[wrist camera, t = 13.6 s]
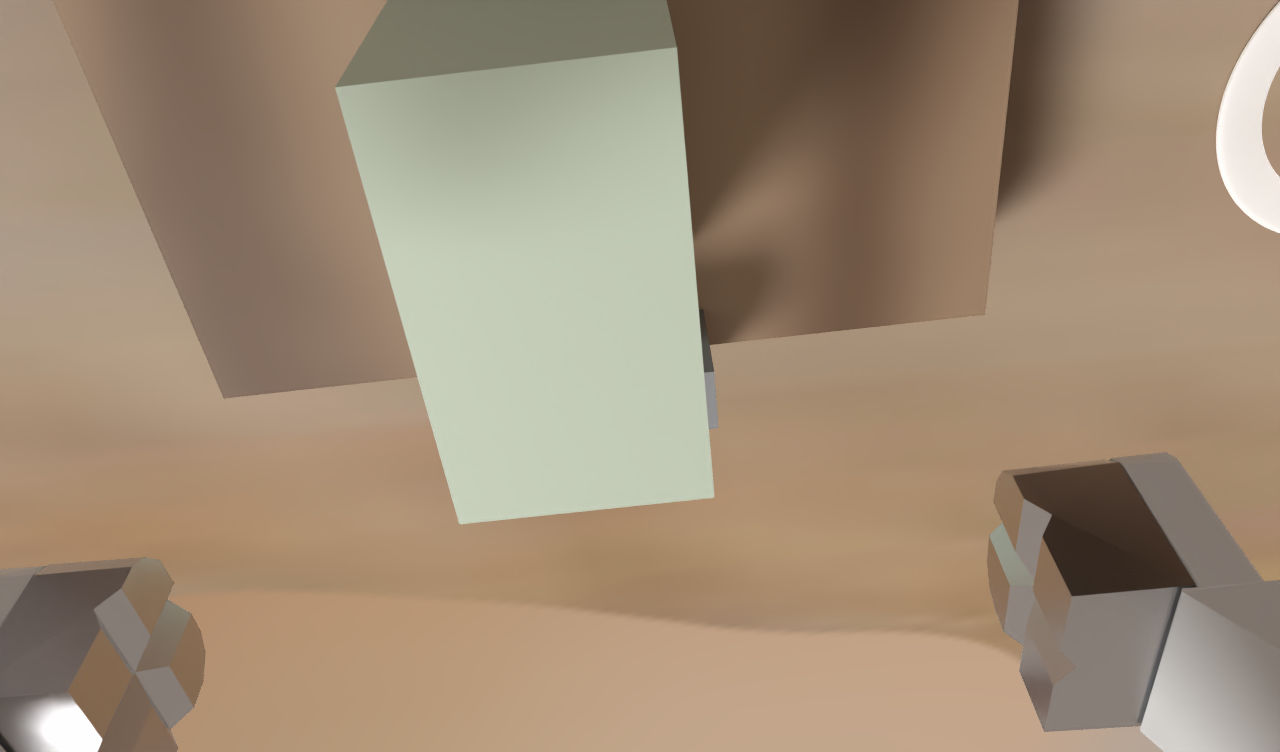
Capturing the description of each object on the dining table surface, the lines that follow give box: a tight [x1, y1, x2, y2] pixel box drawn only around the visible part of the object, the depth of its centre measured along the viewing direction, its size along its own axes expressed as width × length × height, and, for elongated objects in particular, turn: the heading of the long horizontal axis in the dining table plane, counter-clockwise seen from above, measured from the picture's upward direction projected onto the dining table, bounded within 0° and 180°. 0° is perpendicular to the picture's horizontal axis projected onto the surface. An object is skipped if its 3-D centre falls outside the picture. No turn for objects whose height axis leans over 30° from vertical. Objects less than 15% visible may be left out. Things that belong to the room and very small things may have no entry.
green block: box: [335, 0, 714, 524], centre depth 17 cm, size 4×7×8 cm, turn 6°
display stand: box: [53, 0, 1019, 429], centre depth 20 cm, size 18×13×6 cm
